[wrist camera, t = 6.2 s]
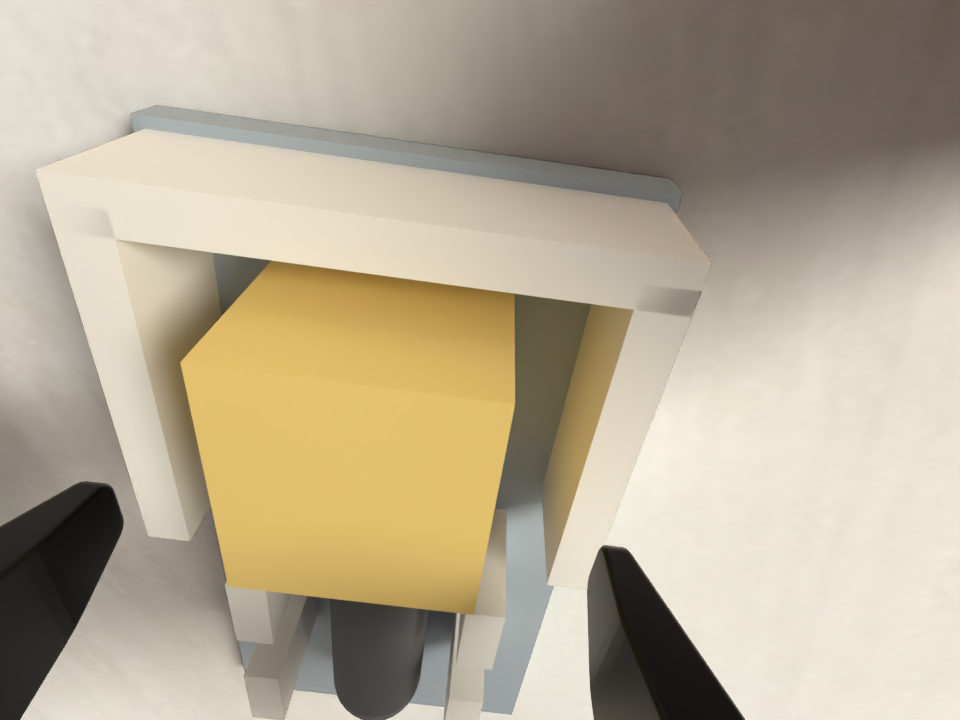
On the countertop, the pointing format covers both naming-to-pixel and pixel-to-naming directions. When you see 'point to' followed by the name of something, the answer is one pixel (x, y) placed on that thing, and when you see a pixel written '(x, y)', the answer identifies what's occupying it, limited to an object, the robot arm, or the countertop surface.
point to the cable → (357, 454)
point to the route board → (402, 254)
